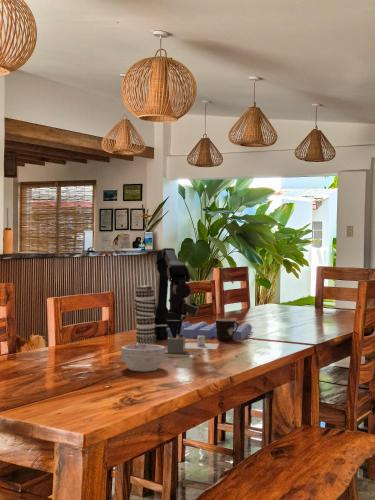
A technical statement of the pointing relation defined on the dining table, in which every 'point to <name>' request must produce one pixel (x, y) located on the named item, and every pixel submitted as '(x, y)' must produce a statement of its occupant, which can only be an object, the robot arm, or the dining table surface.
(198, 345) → the post stand
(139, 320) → the leaning tower model
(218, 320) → the coffee mug
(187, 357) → the mat
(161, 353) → the paper bowls
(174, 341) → the gray cube
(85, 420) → the dining table surface
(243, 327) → the blocks
